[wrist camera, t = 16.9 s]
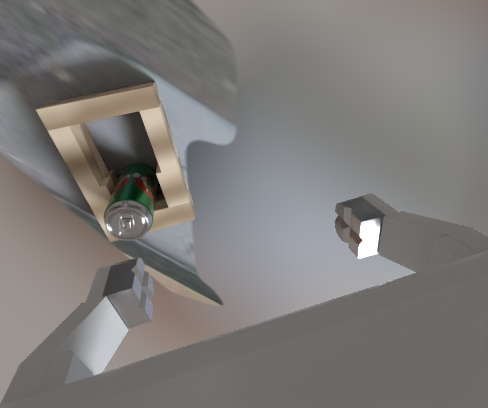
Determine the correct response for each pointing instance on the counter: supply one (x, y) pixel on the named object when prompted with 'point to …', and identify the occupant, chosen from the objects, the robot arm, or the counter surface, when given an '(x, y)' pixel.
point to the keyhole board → (91, 163)
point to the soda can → (132, 203)
